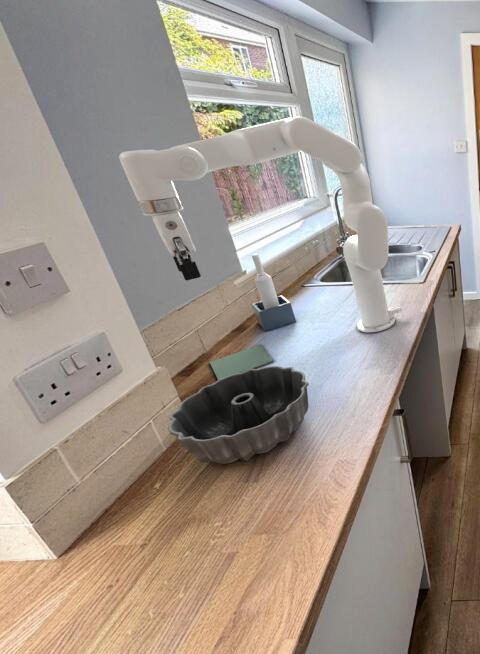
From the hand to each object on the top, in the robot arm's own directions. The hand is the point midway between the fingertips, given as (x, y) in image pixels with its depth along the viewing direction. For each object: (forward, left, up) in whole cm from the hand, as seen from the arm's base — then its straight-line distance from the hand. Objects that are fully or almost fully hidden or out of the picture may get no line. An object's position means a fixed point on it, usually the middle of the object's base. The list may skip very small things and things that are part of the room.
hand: (189, 274), depth 102 cm
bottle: (-20, -29, -31) cm, 47 cm away
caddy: (-20, -29, -31) cm, 47 cm away
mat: (-4, -7, -31) cm, 32 cm away
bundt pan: (+1, +31, -32) cm, 45 cm away
